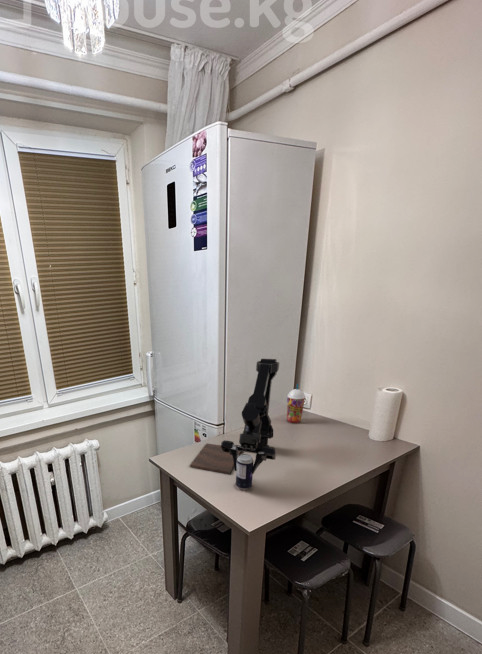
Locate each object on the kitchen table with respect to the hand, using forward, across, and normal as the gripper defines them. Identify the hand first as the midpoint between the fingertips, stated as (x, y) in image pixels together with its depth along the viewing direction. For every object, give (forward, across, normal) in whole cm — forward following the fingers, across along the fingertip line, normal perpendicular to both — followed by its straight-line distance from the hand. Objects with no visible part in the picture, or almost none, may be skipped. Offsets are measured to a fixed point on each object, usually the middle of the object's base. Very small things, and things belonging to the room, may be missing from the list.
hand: (243, 472), depth 126 cm
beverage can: (+4, 0, +6) cm, 7 cm away
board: (-9, -15, +18) cm, 25 cm away
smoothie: (-46, +10, +57) cm, 74 cm away
